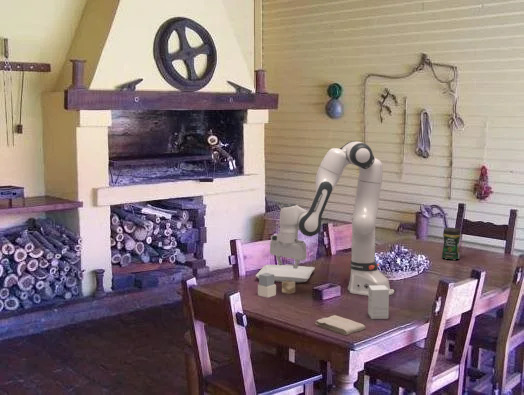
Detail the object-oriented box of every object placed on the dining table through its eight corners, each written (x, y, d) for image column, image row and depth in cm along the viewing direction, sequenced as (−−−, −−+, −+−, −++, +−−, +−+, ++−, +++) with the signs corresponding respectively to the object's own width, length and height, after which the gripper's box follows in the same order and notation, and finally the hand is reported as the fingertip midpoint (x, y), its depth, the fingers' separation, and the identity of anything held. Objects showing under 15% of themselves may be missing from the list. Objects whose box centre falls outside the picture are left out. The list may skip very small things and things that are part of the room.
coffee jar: (440, 259, 396) (441, 228, 393) (444, 257, 402) (445, 226, 400) (457, 261, 391) (458, 229, 388) (460, 258, 397) (462, 227, 395)
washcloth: (333, 320, 283) (333, 312, 282) (366, 330, 269) (366, 322, 269) (313, 326, 275) (313, 318, 275) (346, 337, 261) (346, 329, 261)
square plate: (308, 285, 338) (308, 277, 338) (254, 282, 344) (254, 275, 343) (315, 273, 365) (315, 265, 364) (265, 270, 370) (265, 263, 370)
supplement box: (384, 313, 290) (385, 284, 288) (388, 319, 282) (389, 289, 281) (367, 314, 289) (368, 285, 288) (370, 319, 282) (371, 289, 280)
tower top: (274, 284, 319) (274, 274, 318) (267, 286, 315) (267, 276, 314) (266, 283, 322) (266, 272, 321) (259, 285, 318) (259, 274, 318)
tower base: (275, 295, 319) (276, 284, 319) (267, 297, 315) (267, 287, 314) (266, 292, 323) (266, 282, 323) (257, 295, 319) (257, 285, 318)
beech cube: (295, 292, 325) (295, 281, 324) (289, 293, 322) (289, 283, 321) (287, 290, 328) (287, 280, 327) (281, 292, 325) (281, 282, 324)
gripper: (309, 240, 317) (309, 269, 319) (276, 234, 330) (275, 262, 332) (301, 242, 312) (300, 271, 314) (268, 235, 326) (267, 264, 327)
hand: (287, 266), depth 323 cm, fingers open, 8 cm apart
